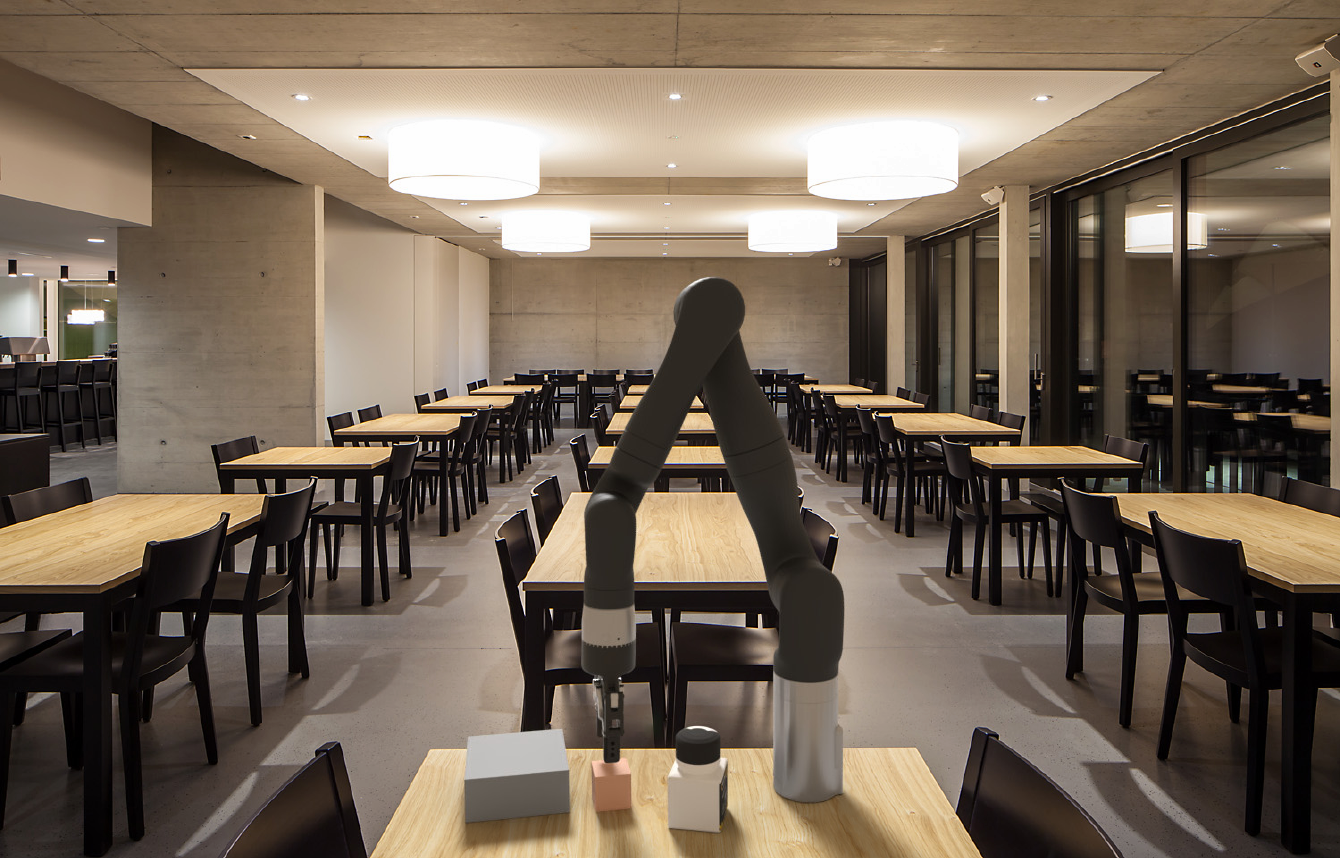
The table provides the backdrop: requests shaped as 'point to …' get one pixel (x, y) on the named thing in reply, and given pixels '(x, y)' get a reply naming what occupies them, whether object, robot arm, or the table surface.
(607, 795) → the terracotta cube
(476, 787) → the slate pedestal
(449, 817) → the table surface
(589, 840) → the table surface
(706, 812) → the medicine bottle
